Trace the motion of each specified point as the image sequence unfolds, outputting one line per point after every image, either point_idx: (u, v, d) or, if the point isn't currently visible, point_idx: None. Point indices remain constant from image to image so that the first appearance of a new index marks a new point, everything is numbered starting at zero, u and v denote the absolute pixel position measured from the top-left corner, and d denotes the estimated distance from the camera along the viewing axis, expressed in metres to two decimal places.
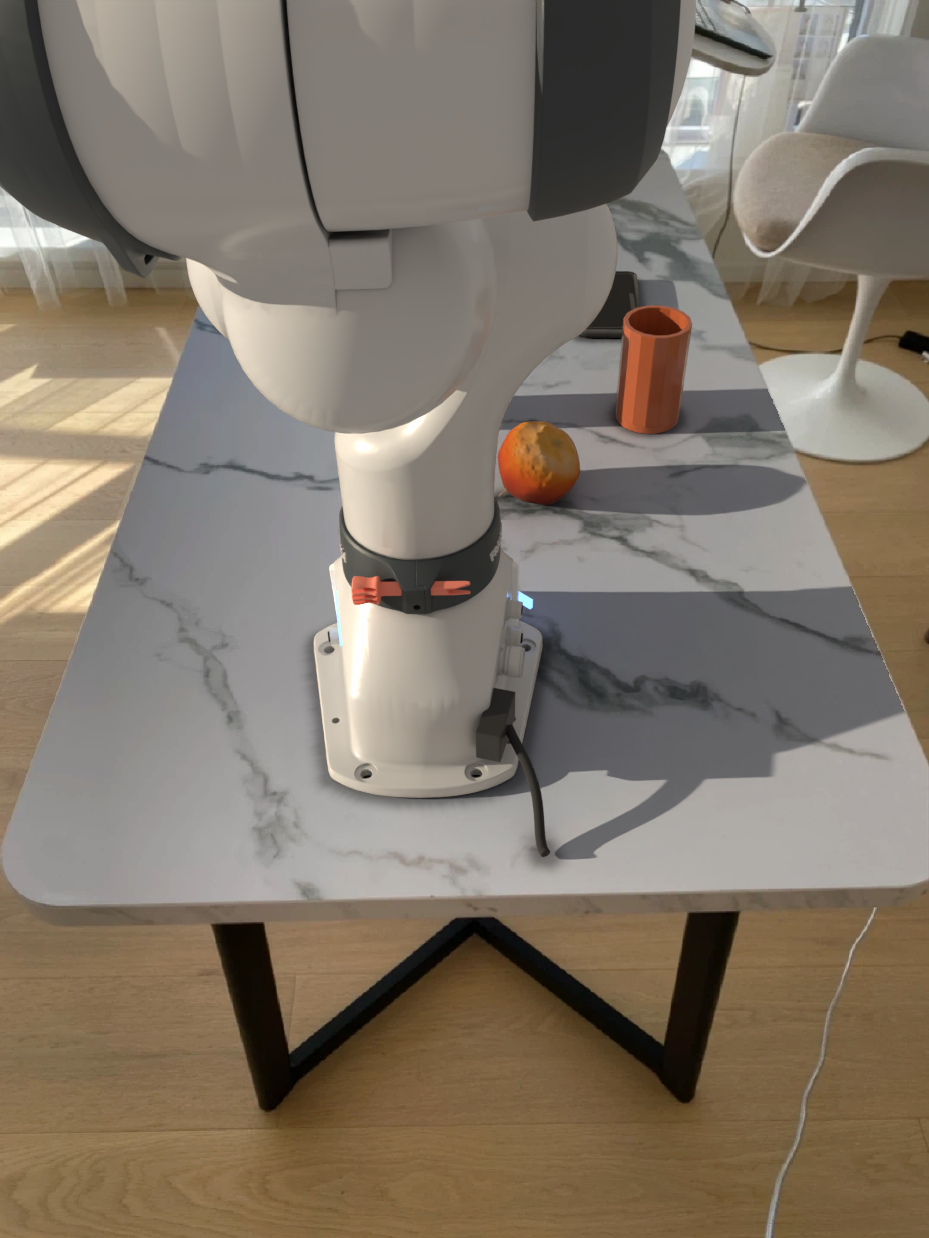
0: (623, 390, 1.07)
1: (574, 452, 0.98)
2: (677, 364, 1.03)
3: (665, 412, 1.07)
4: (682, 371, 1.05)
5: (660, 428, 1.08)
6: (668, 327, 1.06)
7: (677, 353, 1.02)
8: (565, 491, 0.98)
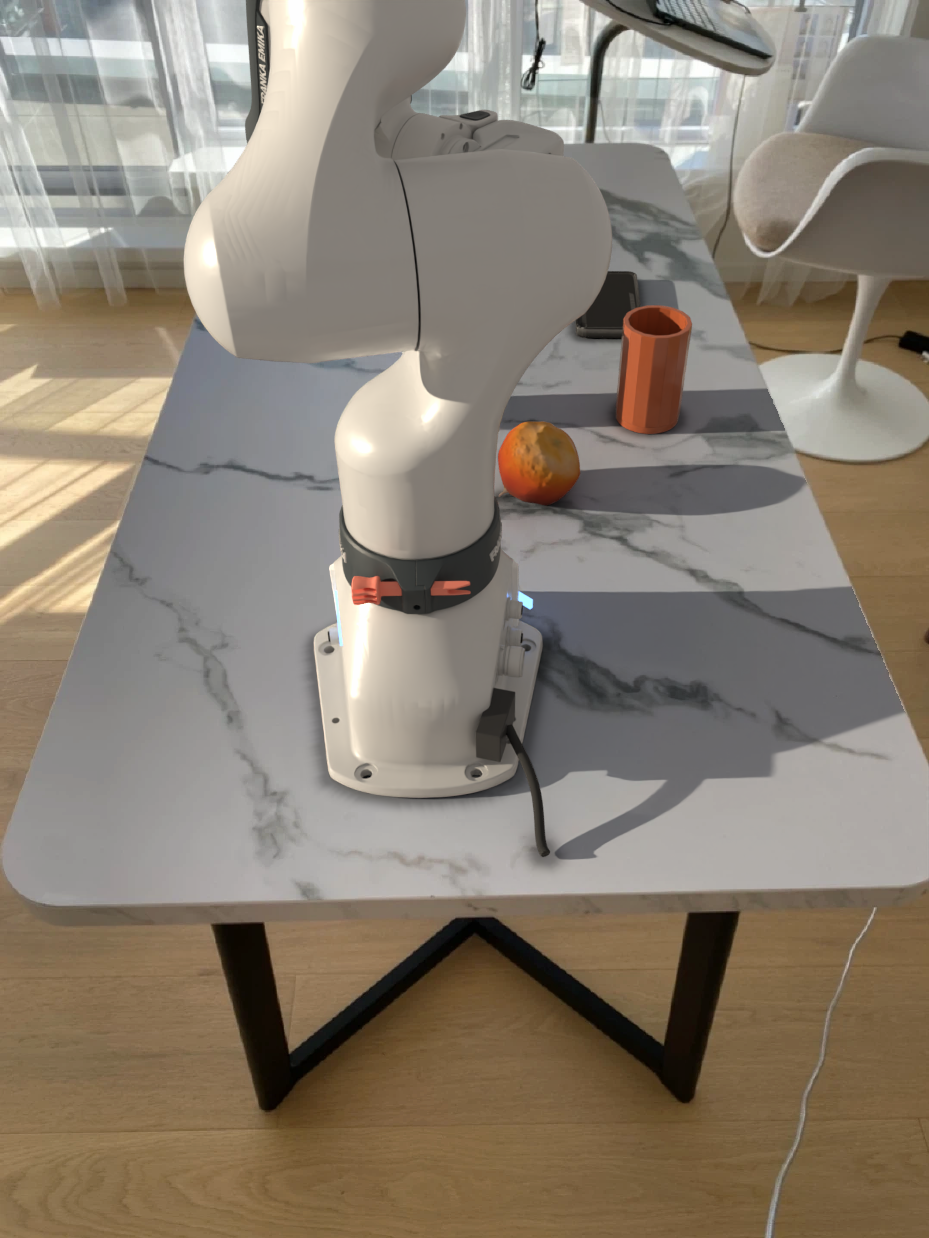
0: (623, 390, 1.07)
1: (574, 452, 0.98)
2: (677, 364, 1.03)
3: (665, 412, 1.07)
4: (682, 371, 1.05)
5: (660, 428, 1.08)
6: (668, 327, 1.06)
7: (677, 353, 1.02)
8: (565, 491, 0.98)
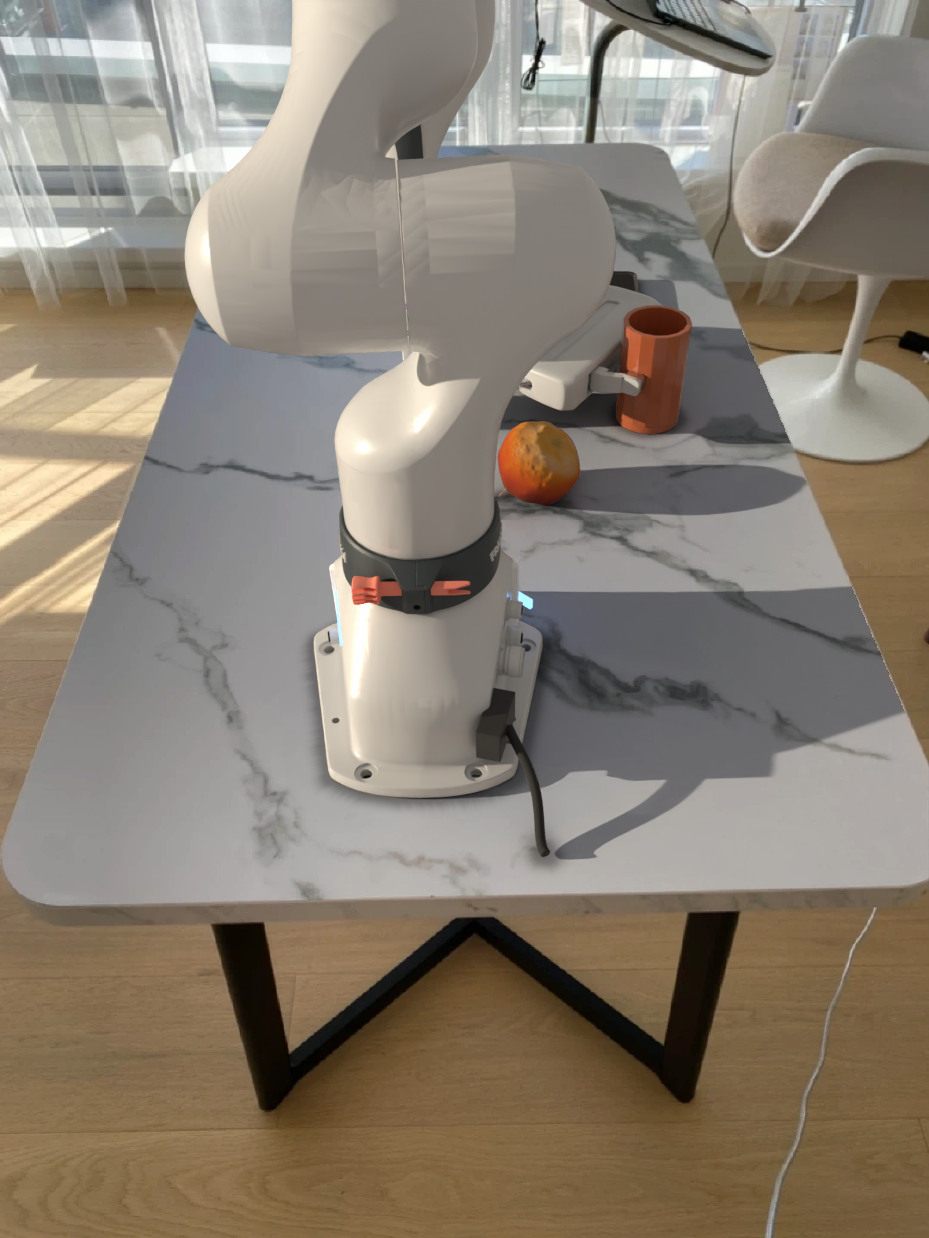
0: None
1: (574, 452, 0.98)
2: (677, 364, 1.03)
3: (665, 412, 1.07)
4: (682, 371, 1.05)
5: (660, 428, 1.08)
6: (668, 327, 1.06)
7: (677, 353, 1.02)
8: (565, 491, 0.98)
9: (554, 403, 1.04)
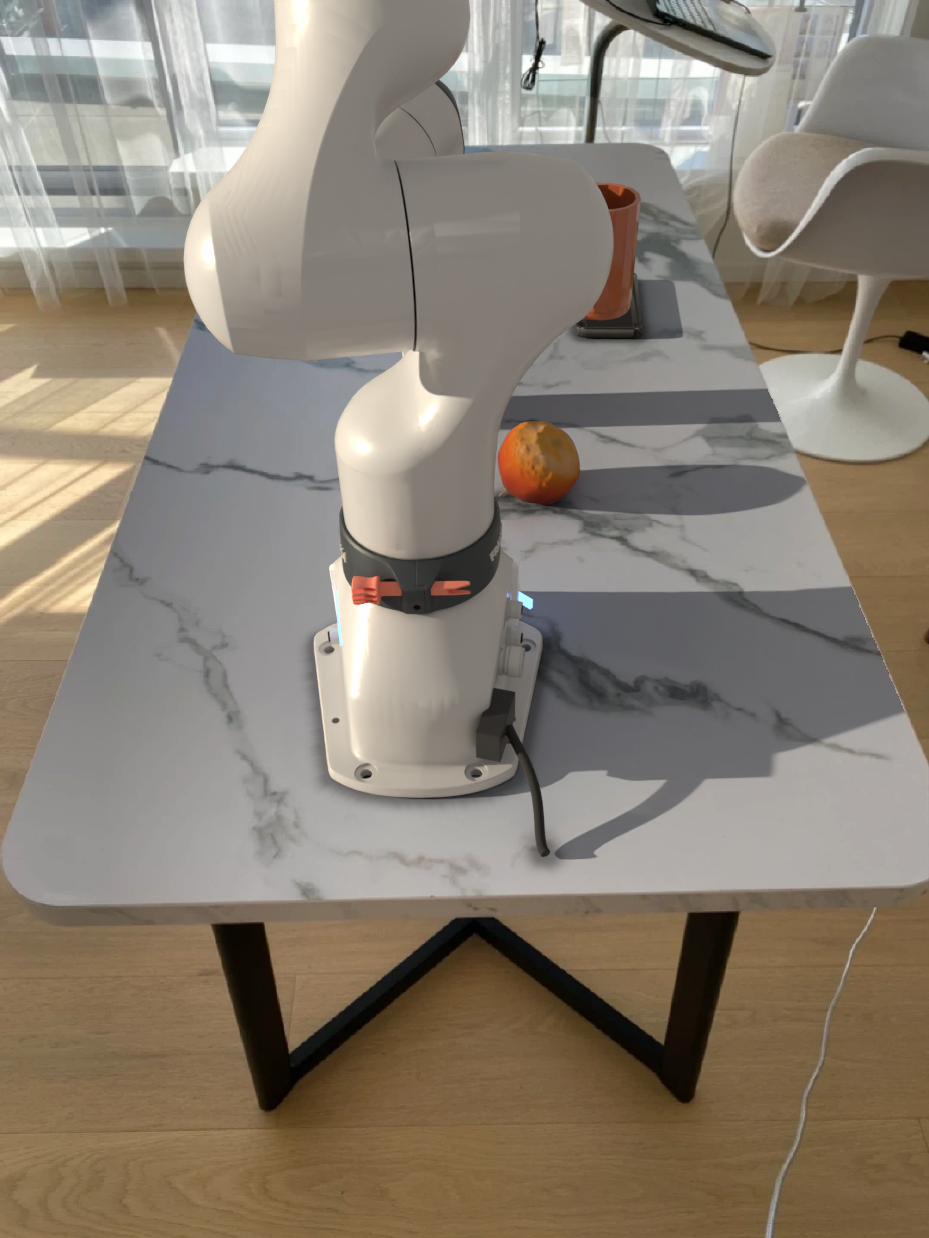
0: None
1: (574, 452, 0.98)
2: (625, 242, 0.99)
3: (615, 296, 1.02)
4: (631, 251, 1.00)
5: (610, 314, 1.04)
6: (618, 206, 1.02)
7: (625, 229, 0.98)
8: (565, 491, 0.98)
9: None
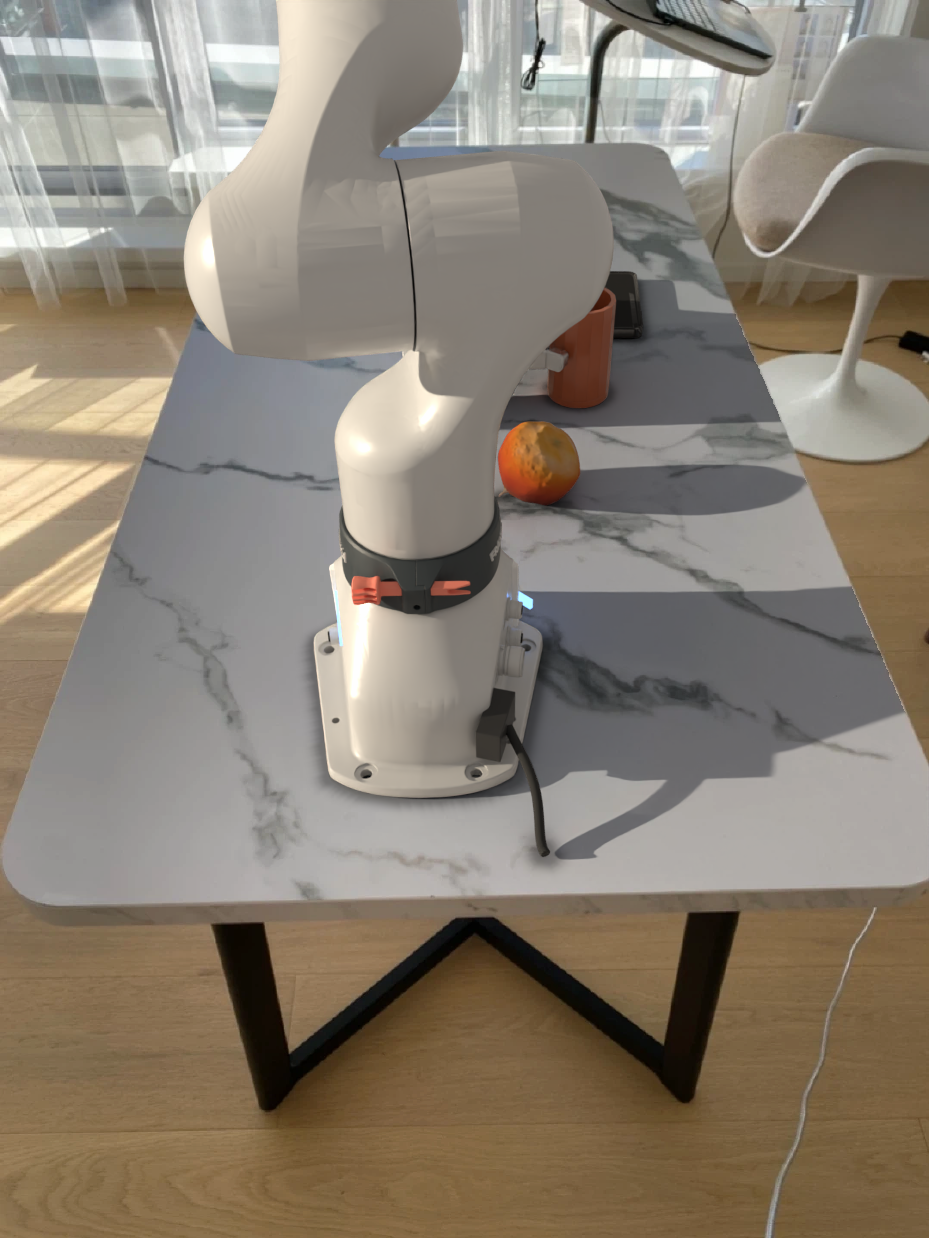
0: None
1: (574, 452, 0.98)
2: (602, 340, 1.07)
3: (593, 387, 1.11)
4: (608, 347, 1.09)
5: (589, 403, 1.12)
6: (595, 304, 1.10)
7: (601, 329, 1.06)
8: (565, 491, 0.98)
9: None
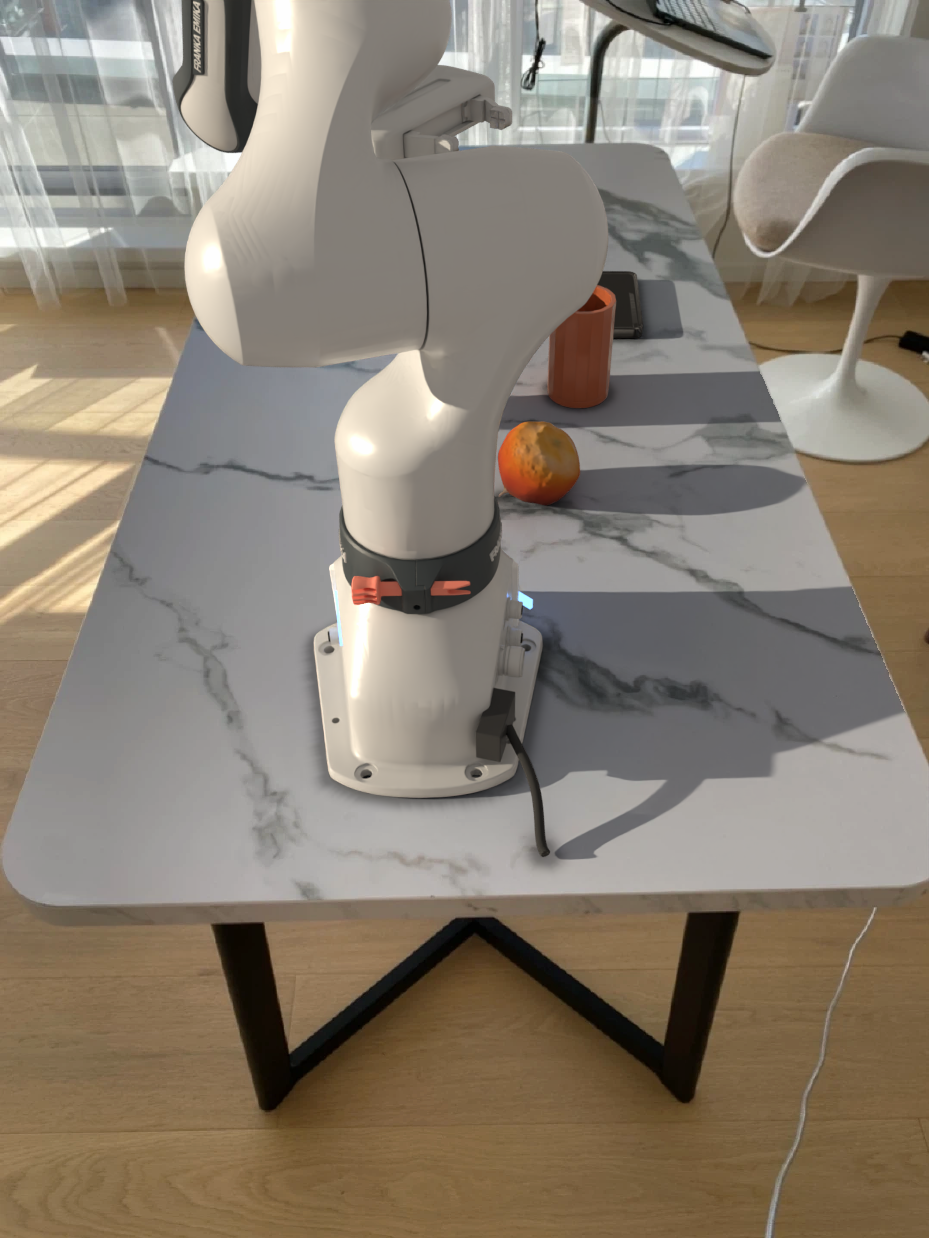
0: (552, 366, 1.11)
1: (574, 452, 0.98)
2: (602, 340, 1.07)
3: (593, 387, 1.11)
4: (608, 347, 1.09)
5: (589, 403, 1.12)
6: (595, 304, 1.10)
7: (601, 329, 1.06)
8: (565, 491, 0.98)
9: None
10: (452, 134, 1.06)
